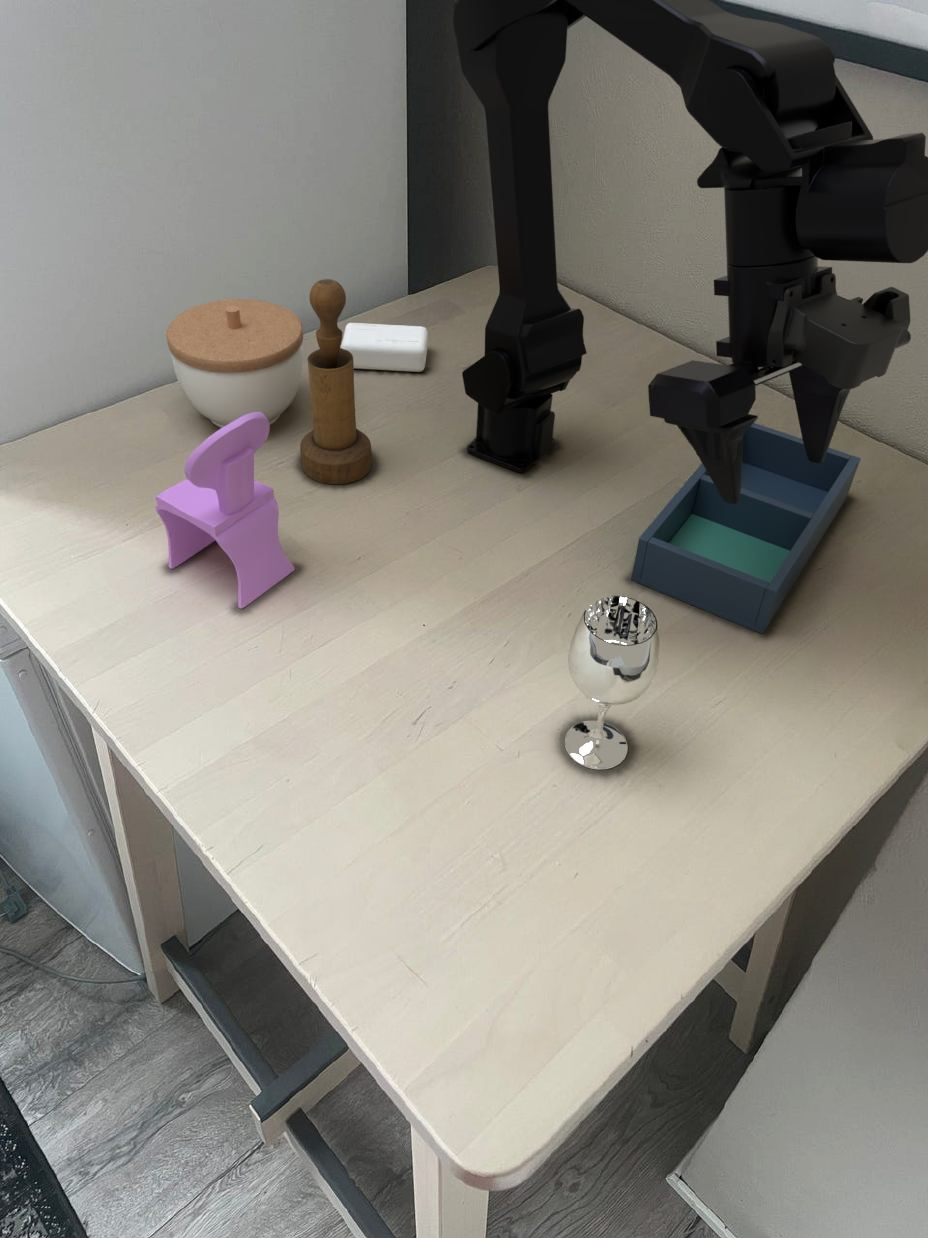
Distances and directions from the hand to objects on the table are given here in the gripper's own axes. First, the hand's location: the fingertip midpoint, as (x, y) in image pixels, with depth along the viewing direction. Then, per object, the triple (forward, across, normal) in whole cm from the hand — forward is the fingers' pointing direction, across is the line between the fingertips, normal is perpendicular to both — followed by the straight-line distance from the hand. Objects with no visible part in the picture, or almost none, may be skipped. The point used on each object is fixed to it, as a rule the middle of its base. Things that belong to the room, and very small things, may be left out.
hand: (775, 481), depth 74 cm
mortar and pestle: (+1, -16, +38) cm, 41 cm away
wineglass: (+14, -18, +1) cm, 23 cm away
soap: (-3, -1, +52) cm, 52 cm away
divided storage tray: (+10, +9, +11) cm, 17 cm away
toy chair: (+4, -31, +31) cm, 44 cm away
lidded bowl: (-3, -18, +51) cm, 54 cm away
